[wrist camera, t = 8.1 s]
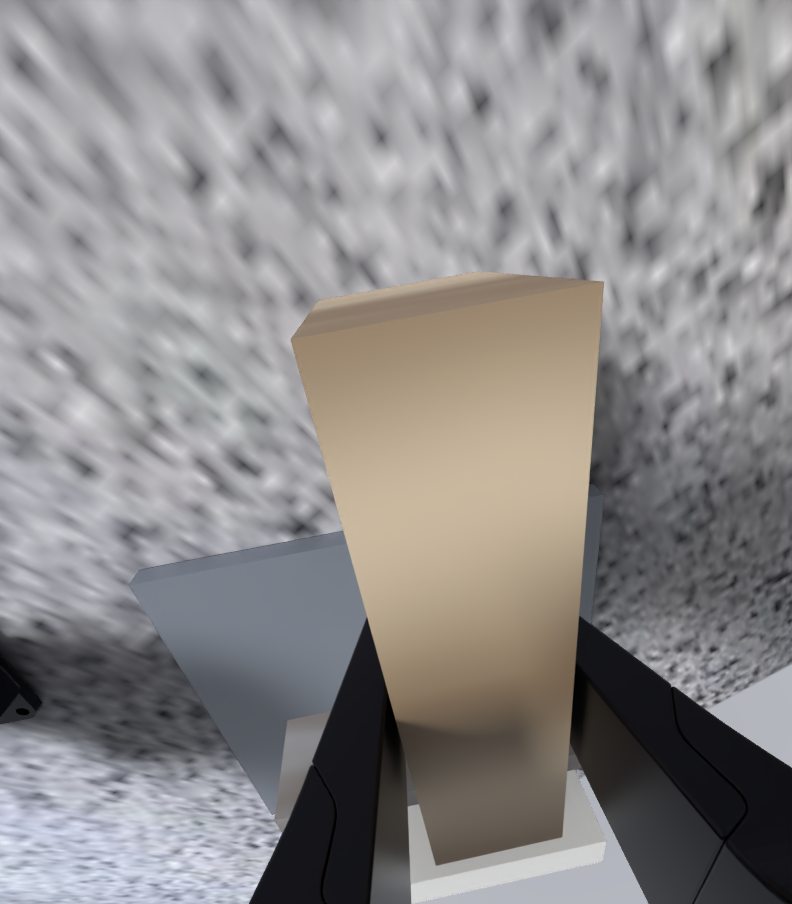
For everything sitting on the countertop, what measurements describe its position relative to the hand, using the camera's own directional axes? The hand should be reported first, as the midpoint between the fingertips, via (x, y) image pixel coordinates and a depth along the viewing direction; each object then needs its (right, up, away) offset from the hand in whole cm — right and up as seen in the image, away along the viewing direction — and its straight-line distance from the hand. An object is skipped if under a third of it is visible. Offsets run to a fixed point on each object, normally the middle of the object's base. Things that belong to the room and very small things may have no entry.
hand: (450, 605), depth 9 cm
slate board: (-1, -7, +10) cm, 12 cm away
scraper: (0, +1, +1) cm, 2 cm away
